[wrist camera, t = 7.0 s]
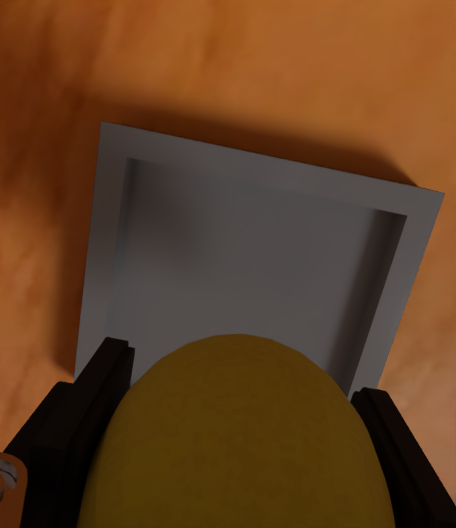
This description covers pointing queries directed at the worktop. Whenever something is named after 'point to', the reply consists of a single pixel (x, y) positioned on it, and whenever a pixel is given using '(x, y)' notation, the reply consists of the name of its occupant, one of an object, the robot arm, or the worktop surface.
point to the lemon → (235, 446)
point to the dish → (247, 253)
